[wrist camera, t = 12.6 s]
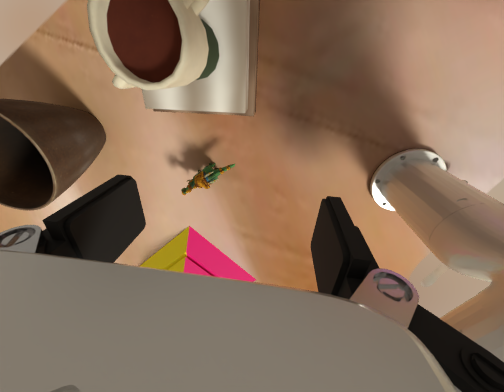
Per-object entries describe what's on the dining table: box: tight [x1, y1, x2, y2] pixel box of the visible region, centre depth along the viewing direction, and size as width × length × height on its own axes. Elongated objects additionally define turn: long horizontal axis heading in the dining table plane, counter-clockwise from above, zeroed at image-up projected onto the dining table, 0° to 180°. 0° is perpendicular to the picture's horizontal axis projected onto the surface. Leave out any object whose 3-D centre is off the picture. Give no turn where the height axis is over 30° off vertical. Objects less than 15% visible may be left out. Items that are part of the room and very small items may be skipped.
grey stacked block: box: [142, 0, 260, 116], centre depth 29 cm, size 16×16×8 cm
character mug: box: [87, 0, 219, 90], centre depth 20 cm, size 11×7×13 cm, turn 128°
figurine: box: [181, 163, 235, 195], centre depth 39 cm, size 3×12×8 cm, turn 119°
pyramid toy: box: [140, 226, 256, 282], centre depth 54 cm, size 25×25×14 cm
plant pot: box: [0, 99, 106, 210], centre depth 34 cm, size 15×15×16 cm
